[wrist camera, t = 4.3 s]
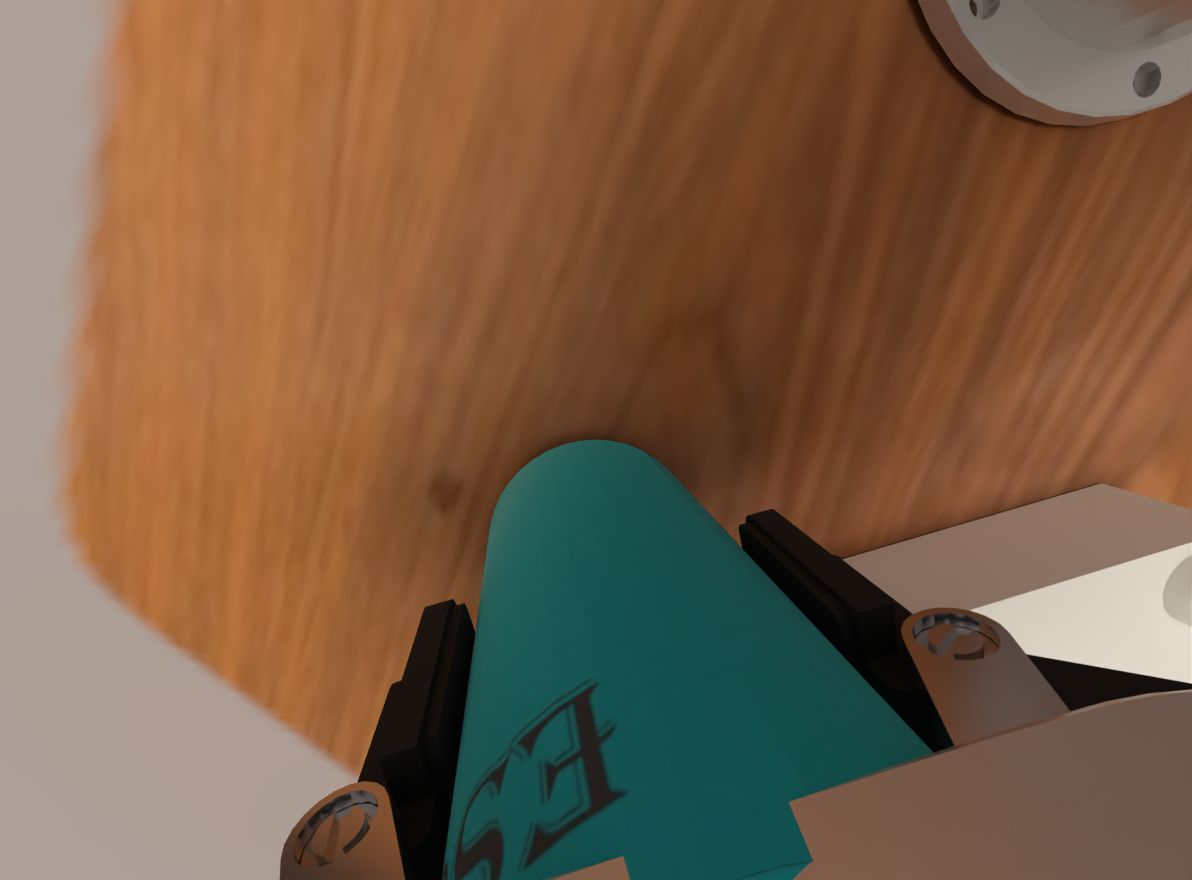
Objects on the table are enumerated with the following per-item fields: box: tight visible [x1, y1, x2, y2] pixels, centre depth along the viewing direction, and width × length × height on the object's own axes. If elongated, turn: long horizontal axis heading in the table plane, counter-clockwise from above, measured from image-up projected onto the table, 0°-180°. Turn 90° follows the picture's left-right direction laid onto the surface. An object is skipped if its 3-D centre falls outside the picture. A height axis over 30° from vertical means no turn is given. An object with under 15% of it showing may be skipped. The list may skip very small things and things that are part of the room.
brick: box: [842, 483, 1192, 684], centre depth 18 cm, size 12×12×5 cm
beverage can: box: [442, 439, 933, 880], centre depth 10 cm, size 6×6×15 cm
